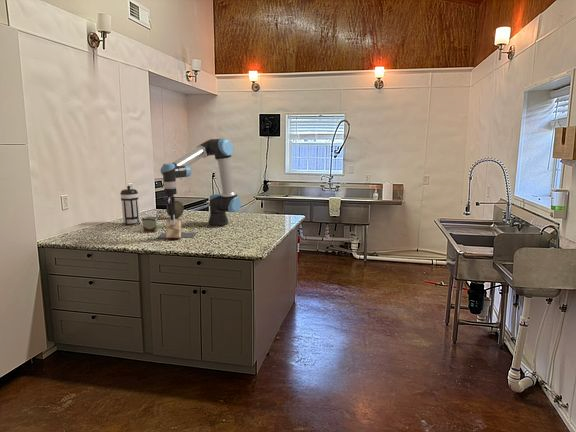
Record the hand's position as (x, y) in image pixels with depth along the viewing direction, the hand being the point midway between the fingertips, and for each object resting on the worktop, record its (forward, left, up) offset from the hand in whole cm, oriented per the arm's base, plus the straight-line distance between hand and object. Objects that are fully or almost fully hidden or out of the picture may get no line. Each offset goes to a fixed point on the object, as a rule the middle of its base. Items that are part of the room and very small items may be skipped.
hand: (172, 224), depth 260 cm
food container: (+21, -29, -10) cm, 37 cm away
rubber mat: (0, -12, -10) cm, 16 cm away
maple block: (0, -1, -9) cm, 9 cm away
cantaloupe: (+14, -76, -10) cm, 78 cm away
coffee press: (+43, -56, -10) cm, 71 cm away
